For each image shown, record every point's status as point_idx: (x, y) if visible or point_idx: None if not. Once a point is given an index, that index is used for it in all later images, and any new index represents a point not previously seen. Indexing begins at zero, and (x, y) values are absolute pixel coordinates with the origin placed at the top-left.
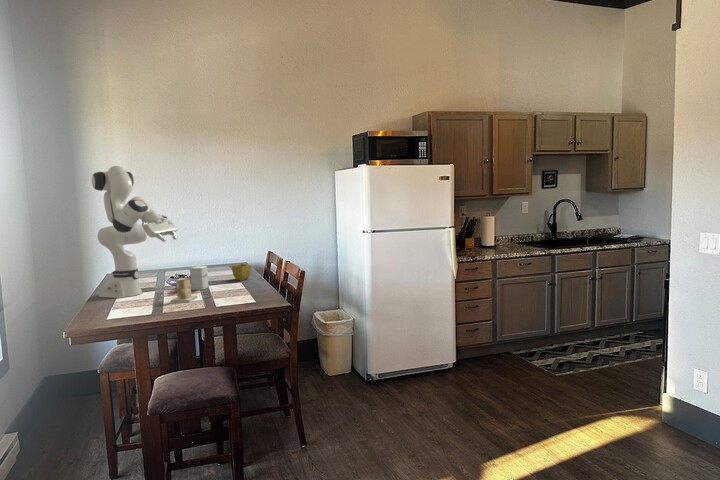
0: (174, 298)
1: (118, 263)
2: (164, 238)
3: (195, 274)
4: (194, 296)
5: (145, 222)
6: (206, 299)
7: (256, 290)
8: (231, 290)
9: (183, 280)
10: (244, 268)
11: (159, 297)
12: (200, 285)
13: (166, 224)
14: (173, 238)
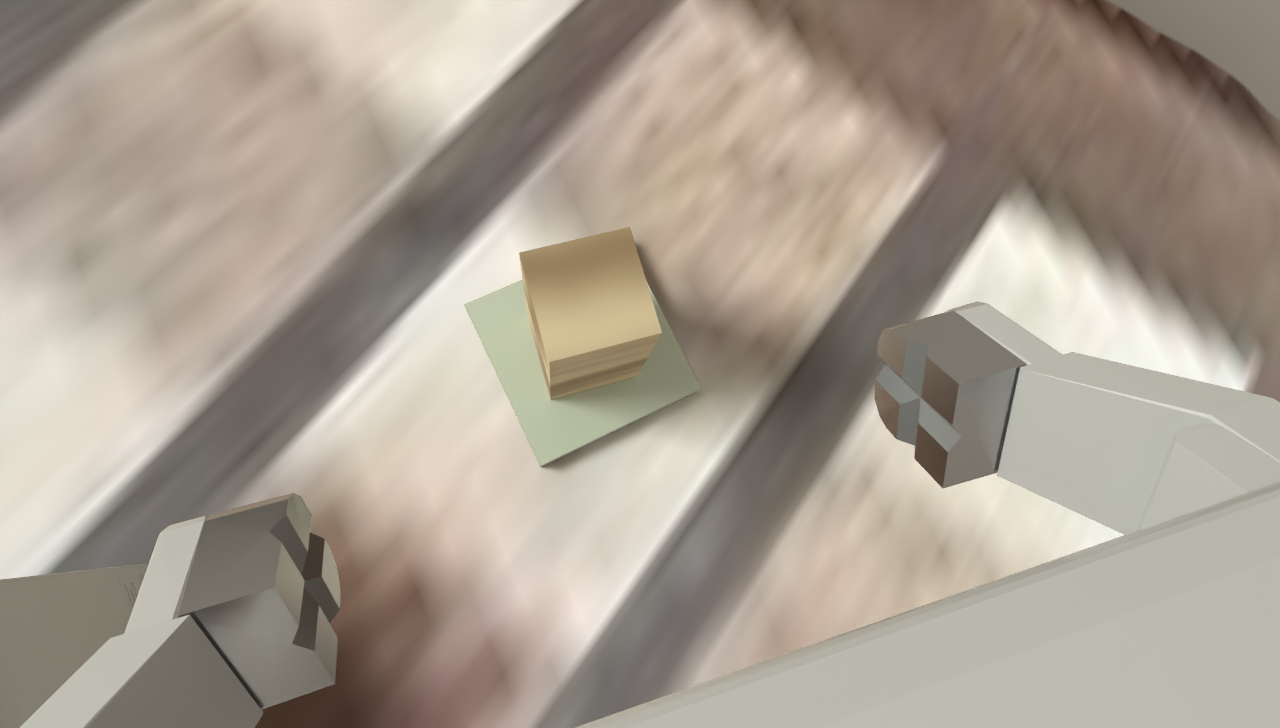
0: (639, 417)
1: None
2: (969, 334)
3: (58, 668)
4: (499, 306)
5: None
6: (488, 179)
7: (4, 19)
8: (78, 243)
9: (632, 237)
10: None
11: (617, 687)
12: (132, 588)
13: None
14: (321, 623)
